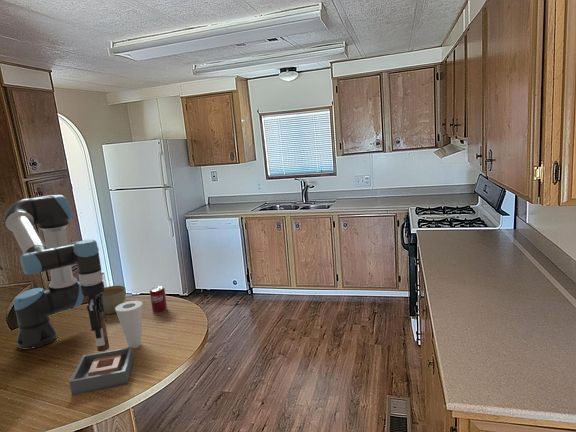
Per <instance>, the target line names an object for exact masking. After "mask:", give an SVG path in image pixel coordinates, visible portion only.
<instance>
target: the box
mask: <svg viewBox="0 0 576 432" xmlns="http://www.w3.org/2000/svg"><path fill="white" fill-rule="evenodd" d="M134 359H135V357H134V348H132V347H129V346H128V347H122V348H118V349H113V350H105V351H98V352H95V353H90V354H83V355H82V356H81V358H80V360H79V363H78V364H77V366H76V368H75V370H74V372H73V374H72V375H71V378H70V379H69V387H70V393H71V395H78V394H83V393H88V392H89V393H90V392H93V391H99V390H105V389H109V388H113V387H114V388H115V387H120V386H125V385H128V383H129V379H130V376H131V371H132V368H133V364H134Z"/></svg>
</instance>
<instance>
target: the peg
mask: <svg viewBox="0 0 576 432" xmlns="http://www.w3.org/2000/svg"><path fill="white" fill-rule="evenodd" d="M105 319H106V318H104V312H103V311H100V321H101V328H102V329H103V335H104V341H105V345H102V346H97V345H96V348H97V349H96V350H97V352H105V351H108V350H109V349H110V344H109V336H108V330H107V325H106V322H105Z"/></svg>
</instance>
